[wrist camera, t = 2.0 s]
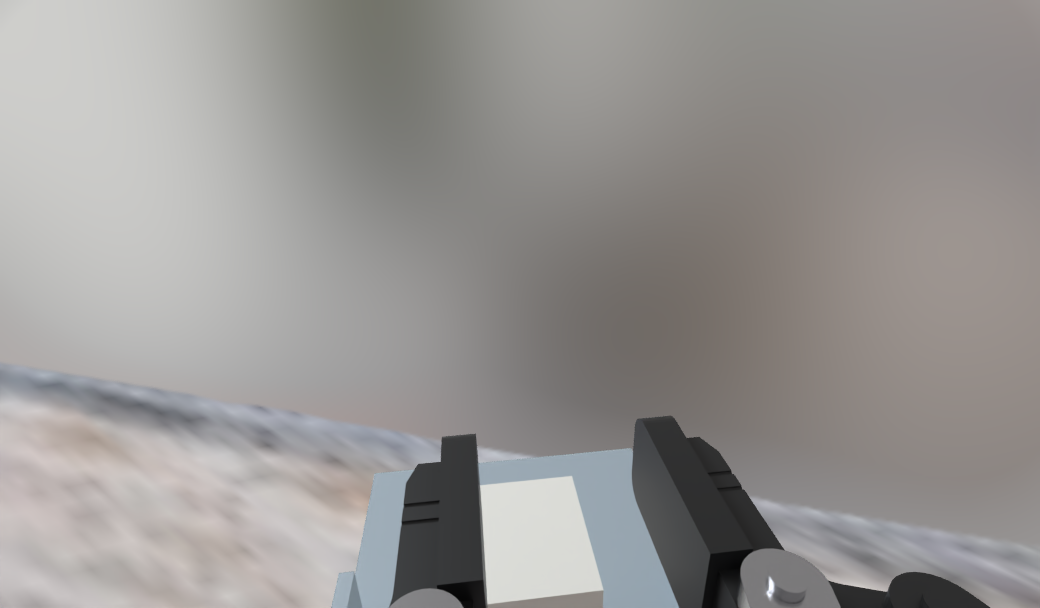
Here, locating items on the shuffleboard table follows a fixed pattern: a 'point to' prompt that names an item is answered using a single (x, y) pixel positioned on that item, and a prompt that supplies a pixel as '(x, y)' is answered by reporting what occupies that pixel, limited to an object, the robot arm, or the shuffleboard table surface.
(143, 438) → the shuffleboard table surface
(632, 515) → the trough
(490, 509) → the cream block
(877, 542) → the shuffleboard table surface
